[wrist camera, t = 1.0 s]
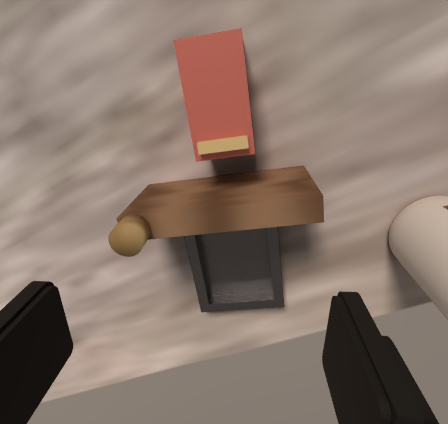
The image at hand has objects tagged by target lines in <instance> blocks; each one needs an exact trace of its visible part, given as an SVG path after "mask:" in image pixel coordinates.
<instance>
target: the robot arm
mask: <svg viewBox="0 0 448 424" xmlns="http://www.w3.org/2000/svg"><path fill="white" fill-rule="evenodd" d="M72 350H73V342H72V338H71V334H70V331H69V327H68V323H67V320H66V316H65V312H64V309H63V305H62V301H61V298H60V294H59V290H58V288H57V287H56V286H54V284H53V283H52V282H46V281H33V282H31V283H30V284H28V285H27V286H26V287H25V288H24V289H23V290H22V291H21V292H20V293H19V294H18V295H17V296H16V297H15V298H13V299H12V300H11V301H10V302H9V303H8V304H7V305H6V306H5V307H4V308H3V309H2V310H1V311H0V424H27V422H28V421H29V419H30V417H31V416H32V415H33V413H34V411H35V409H36V408H37V407H38V405H39V404H40V402H41V401H42V399H43V397H44V396H45V394H46V393H47V391H48V390H49V388H50V386H51V385H52V383H53V382H54V380H55V379H56V377H57V376H58V374H59V372H60V371H61V369H62V368H63V366H64V365H65V363H66V361H67V360H68V358H69V357H70V355H71V353H72ZM322 358H323V359H322V361H323V368H324V372H325V375H326V379H327V382H328V386H329V390H330V394H331V397H332V401H333V405H334V408H335V412H336V416H337V419H338V423H339V424H439V423H438V421H437V419H436V417H435V415H434V414H433V412H432V411H431V408H430V407H429V405H428V403H427V401H426V400H425V398H424V396H423V394H422V393H421V391H420V389H419V387H418V385H417V384H416V382H415V380H414V378H413V377H412V375H411V373H410V371H409V370H408V368H407V366H406V364H405V362H404V361H403V359H402V357H401V355H400V354H399V352H398V350H397V348H396V347H395V345H394V343H393V342H392V340H391V339H390V338H389V337H388V336H381V334H380V332H379V330H378V328H377V327H376V324H375V323H374V321H373V319H372V317H371V315H370V313H369V311H368V309H367V308H366V306H365V304H364V302H363V300H362V298H361V296H360V295H359V293H357V292H339V293H338V295H337V296H333V297H332V301H331V307H330V313H329V319H328V325H327V331H326V338H325V344H324V349H323V356H322Z"/></svg>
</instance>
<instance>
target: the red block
mask: <svg viewBox="0 0 448 424" xmlns="http://www.w3.org/2000/svg"><path fill="white" fill-rule="evenodd" d="M174 45H175V51H176V56H177V61H178V67H179V72H180V77H181V83H182V88H183V93H184V99H185V104H186V110H187V115H188V120H189V126H190V131H191V136H192V142H193V147H194V152H195V158H196V162H197V161H204V160H212V159H220V158H227V157H235V156H243V155H250V154H255V147H254V137H253V127H252V118H251V109H250V100H249V90H248V81H247V72H246V63H245V54H244V44H243V36H242V29H241V28H240V29H234V30H229V31H223V32H218V33H212V34H207V35H202V36H196V37H191V38H185V39H180V40H174Z"/></svg>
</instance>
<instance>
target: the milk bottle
mask: <svg viewBox="0 0 448 424" xmlns="http://www.w3.org/2000/svg"><path fill="white" fill-rule="evenodd" d="M389 246H390V249H391V251H392V253H393V254H394V255H395V257H396V258H397V259H398V261H399V262H400V263H401V264H402V266H403V267H404V268H405V269H406V270H407V272H408V273H409V274H410V275H411V276H412V278H413V279H414V280H415V281H416V282H417V284H418V285H419V286H420V287H421V288H422V290H423V291H424V292H425V293H426V294H427V296H428V297H429V298H430V299H431V300H432V302H433V303H434V304H435V305H436V306H437V307H438V308H439V310H440V311H441V312H442V313H443V314H444V316H445V317H446V318H447V319H448V196H430V197H426V198H422V199H419V200H417V201H415V202H412V203H411V204H409V205H408V206H406V207H405V208H404V209H403V210H402V211H400V212H399V214H398V215H397V216H396V217H395V219H394V221H393V222H392V224H391V227H390V230H389Z"/></svg>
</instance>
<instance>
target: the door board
mask: <svg viewBox="0 0 448 424" xmlns="http://www.w3.org/2000/svg"><path fill="white" fill-rule="evenodd" d="M117 221H118V224H117V225H116V226H115V227H114V229H113V230H112V231H111V232H110V234H109V244H110V246H111V248H112V249H113V250H114V251H115V252H116V253H118V254H120V255H122V256H127V257H130V256H134V255H136V254H138V253H139V252H140V251H141V249H142V248H143V246H144V244H145V243H146V241H147V240H148V239H158V238H168V237H179V236H189V235H199V234H209V233H219V232H229V231H239V230H249V229H260V228H270V227H280V226H290V225H300V224H310V223H320V222H324V208H323V195H322V193H321V192H320V190H319V189H318V187H317V185H316V184H315V182H314V181H313V179H312V178H311V176H310V175H309V173H308V171H307V170H306V168H305V167H304V166H297V167H289V168H281V169H273V170H264V171H256V172H248V173H240V174H232V175H224V176H215V177H207V178H199V179H191V180H183V181H175V182H166V183H158V184H150V185H148V186H147V187H146V188H145V189H144V190H143V191H142V192H141V193H140V194H139V195H138V197H137V198H136V199H135V200H134V201H133V202H132V203H131V204H130V205H129V206H128V207H127V208H126V209H125V210H124V211H123V212H122V213H121V214H120V215H119V216H118V217H117Z"/></svg>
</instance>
